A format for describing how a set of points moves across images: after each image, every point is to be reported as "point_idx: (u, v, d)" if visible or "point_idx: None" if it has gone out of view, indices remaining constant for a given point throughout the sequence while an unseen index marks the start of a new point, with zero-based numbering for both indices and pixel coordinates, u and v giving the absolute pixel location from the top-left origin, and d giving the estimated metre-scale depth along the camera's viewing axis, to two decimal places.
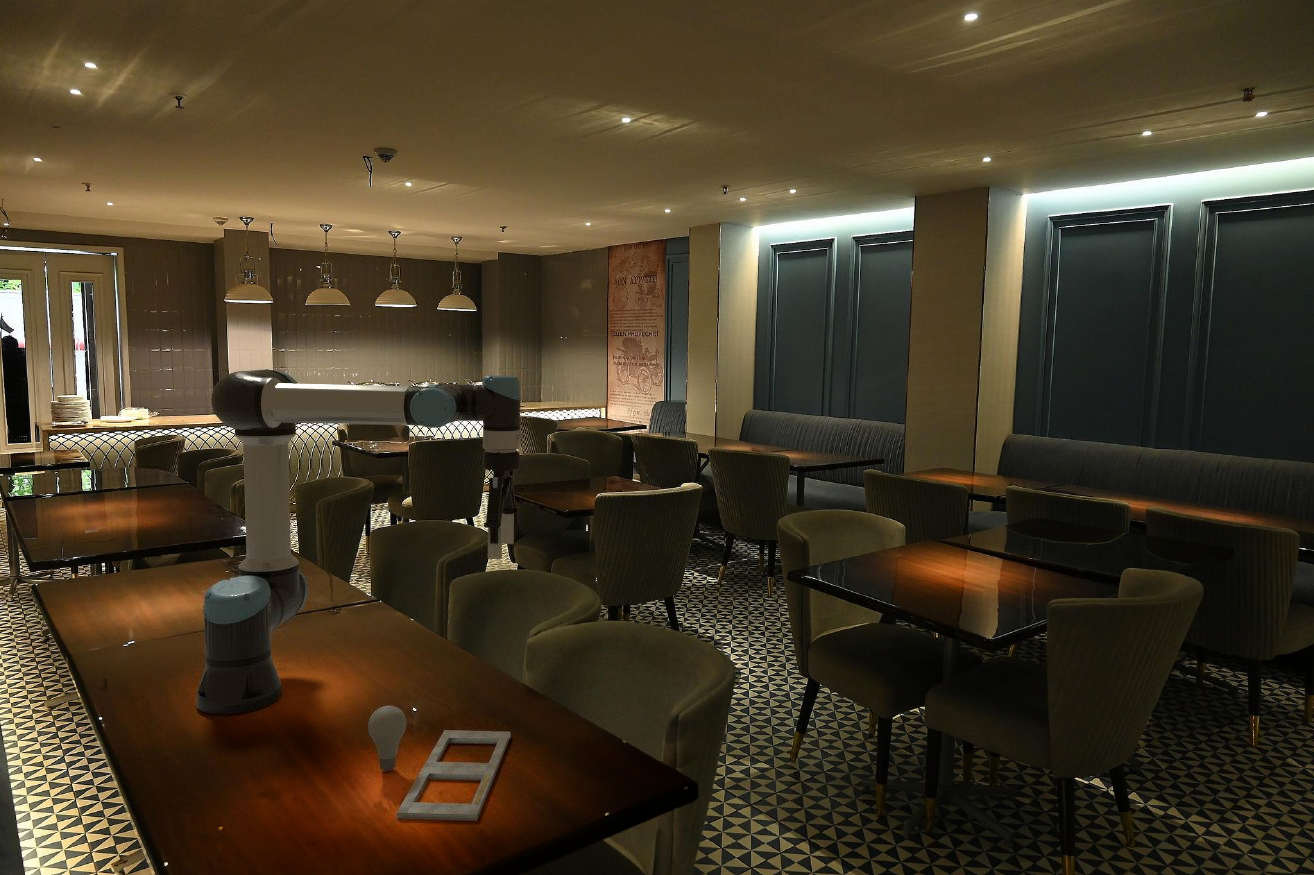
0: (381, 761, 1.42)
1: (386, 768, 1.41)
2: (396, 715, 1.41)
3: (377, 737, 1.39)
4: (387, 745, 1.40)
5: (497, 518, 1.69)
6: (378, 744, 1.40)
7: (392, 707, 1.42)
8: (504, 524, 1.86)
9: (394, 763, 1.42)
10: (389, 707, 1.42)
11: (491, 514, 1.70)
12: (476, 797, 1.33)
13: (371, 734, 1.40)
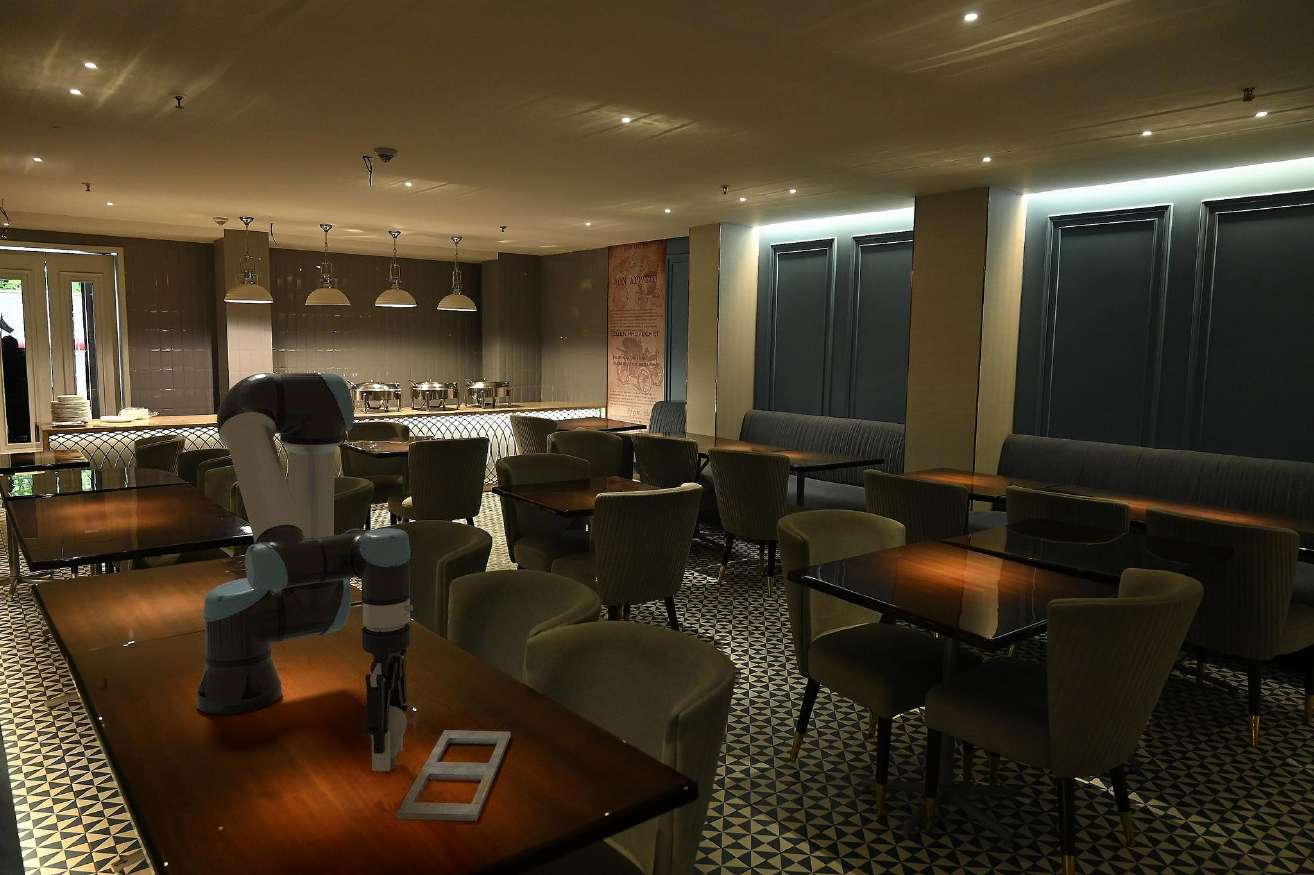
0: None
1: None
2: (396, 715, 1.41)
3: None
4: None
5: (380, 727, 1.35)
6: None
7: (392, 707, 1.42)
8: None
9: (394, 763, 1.42)
10: (389, 707, 1.42)
11: (372, 722, 1.35)
12: (476, 797, 1.33)
13: None
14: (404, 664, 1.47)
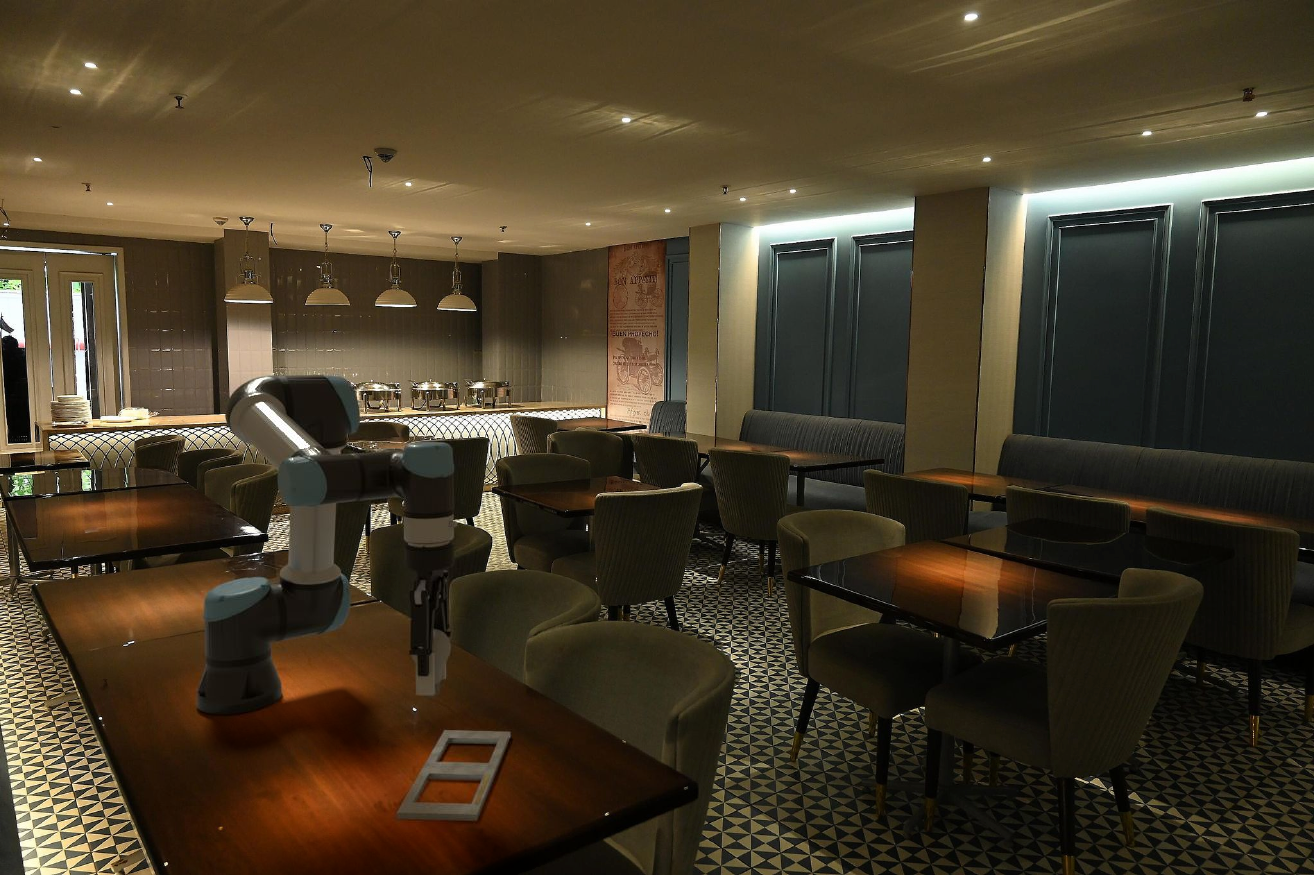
0: None
1: None
2: (440, 637, 1.34)
3: None
4: None
5: (425, 646, 1.28)
6: None
7: (436, 630, 1.35)
8: None
9: (438, 689, 1.35)
10: (433, 629, 1.35)
11: (417, 641, 1.28)
12: (476, 797, 1.33)
13: (414, 657, 1.33)
14: (447, 588, 1.40)
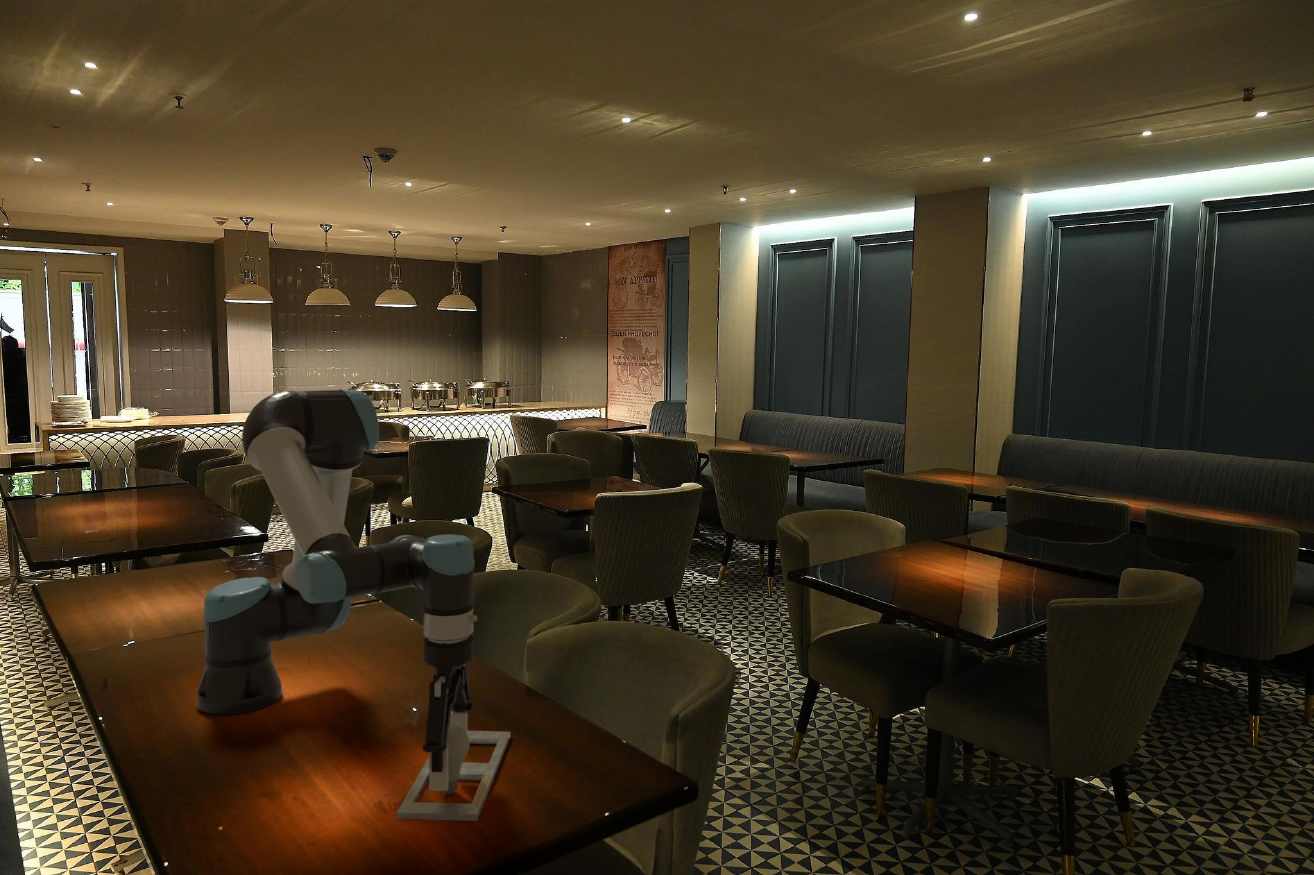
0: None
1: (448, 791, 1.35)
2: (459, 735, 1.34)
3: None
4: (450, 767, 1.33)
5: (440, 742, 1.25)
6: None
7: (454, 727, 1.35)
8: None
9: (456, 785, 1.35)
10: (451, 727, 1.35)
11: (432, 736, 1.26)
12: (476, 797, 1.33)
13: None
14: (466, 669, 1.40)
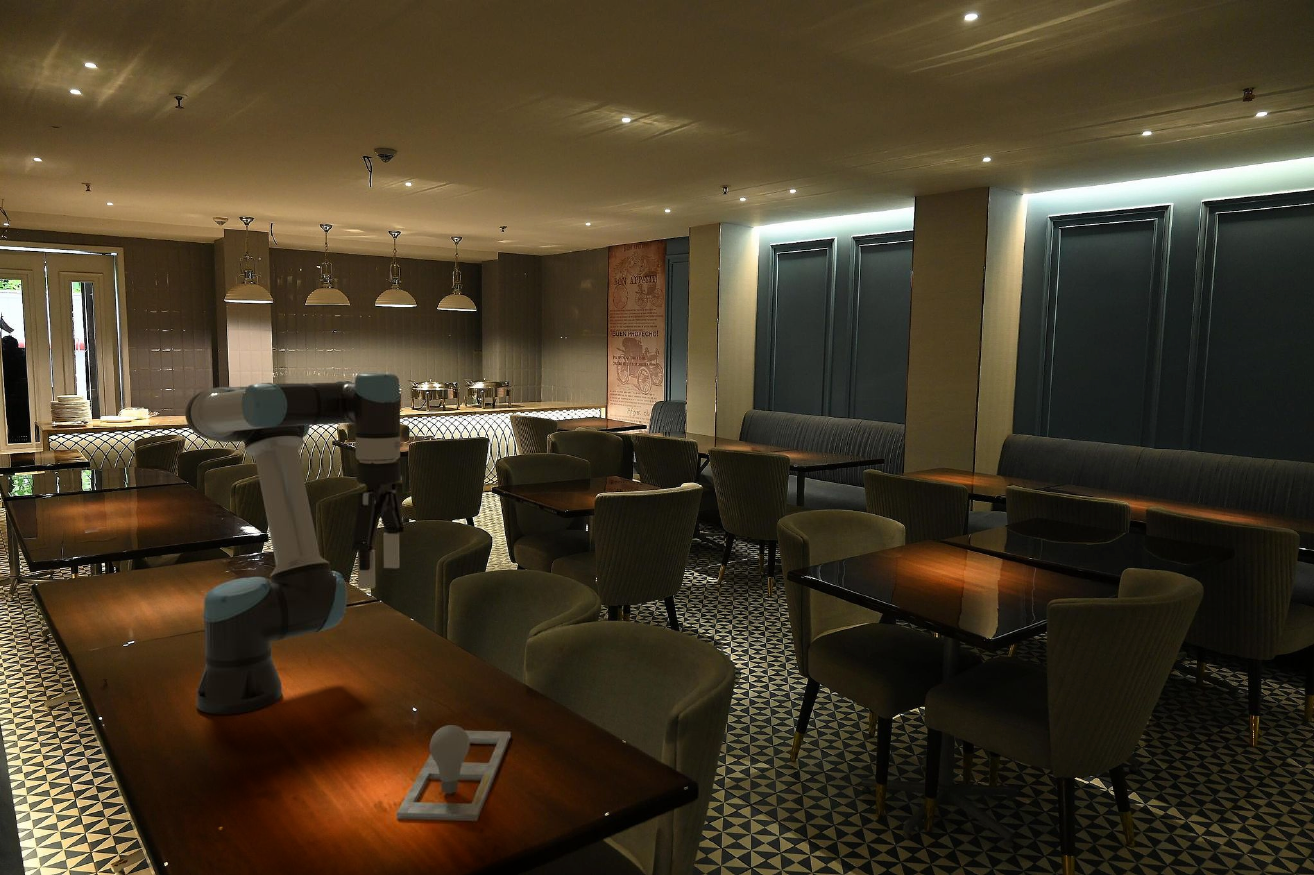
0: (443, 783, 1.35)
1: (448, 791, 1.35)
2: (459, 735, 1.34)
3: (440, 758, 1.32)
4: (450, 767, 1.33)
5: (366, 541, 1.44)
6: (440, 765, 1.33)
7: (455, 727, 1.35)
8: (388, 545, 1.61)
9: (456, 786, 1.35)
10: (452, 727, 1.35)
11: (359, 536, 1.45)
12: (476, 797, 1.33)
13: (433, 755, 1.33)
14: (397, 496, 1.60)
